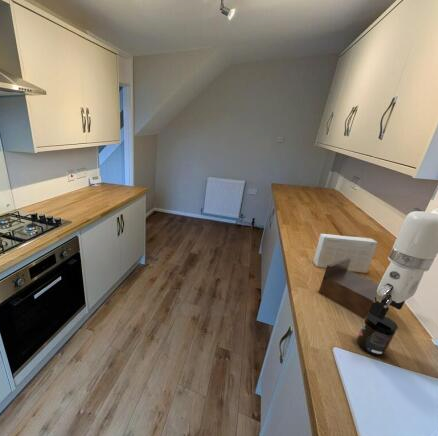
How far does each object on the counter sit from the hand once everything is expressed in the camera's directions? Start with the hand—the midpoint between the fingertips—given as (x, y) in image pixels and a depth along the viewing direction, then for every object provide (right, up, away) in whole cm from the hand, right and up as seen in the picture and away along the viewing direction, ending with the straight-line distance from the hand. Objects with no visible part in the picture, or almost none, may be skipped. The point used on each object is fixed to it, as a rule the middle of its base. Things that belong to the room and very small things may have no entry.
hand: (384, 311), depth 68 cm
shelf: (+12, -6, +25) cm, 29 cm away
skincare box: (+25, +2, +48) cm, 54 cm away
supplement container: (0, -13, +5) cm, 14 cm away
